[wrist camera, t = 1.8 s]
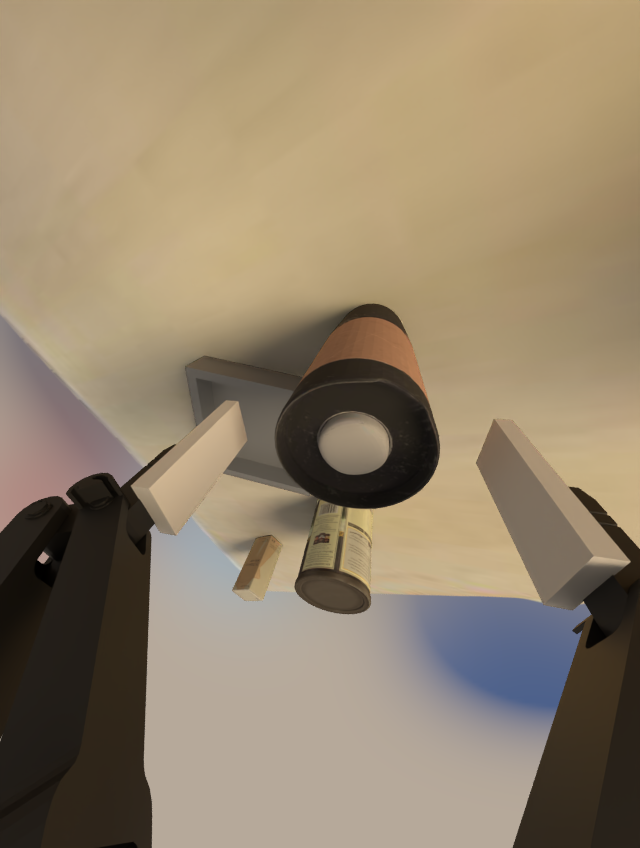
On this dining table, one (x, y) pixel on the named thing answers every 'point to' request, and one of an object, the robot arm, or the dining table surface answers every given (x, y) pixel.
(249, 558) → the box
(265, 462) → the bin
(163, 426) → the dining table surface
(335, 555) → the coffee can
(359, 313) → the travel mug
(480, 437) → the dining table surface
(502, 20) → the dining table surface
